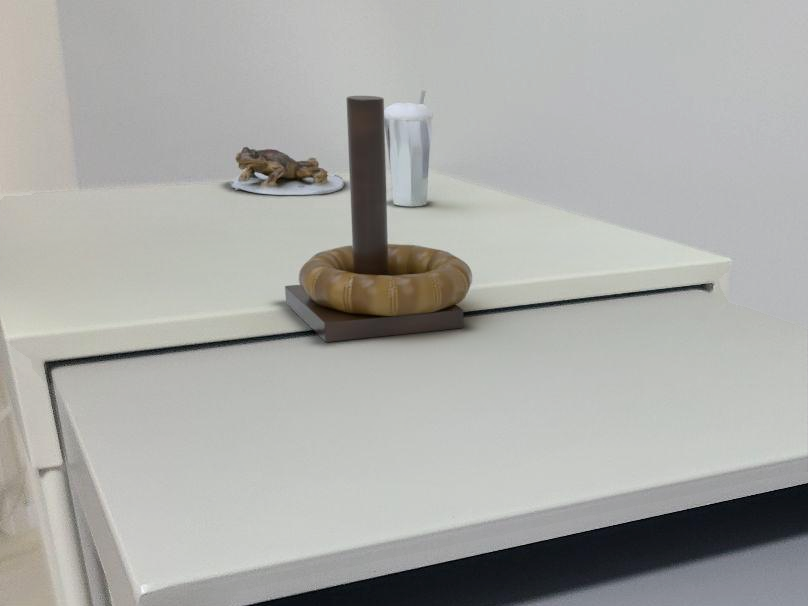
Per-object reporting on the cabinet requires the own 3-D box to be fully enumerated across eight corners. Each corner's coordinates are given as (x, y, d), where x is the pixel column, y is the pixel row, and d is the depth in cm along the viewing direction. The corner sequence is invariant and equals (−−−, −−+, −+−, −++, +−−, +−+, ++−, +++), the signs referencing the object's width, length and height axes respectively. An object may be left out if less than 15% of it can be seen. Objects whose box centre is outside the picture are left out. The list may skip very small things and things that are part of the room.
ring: (330, 327, 63) (328, 287, 62) (283, 282, 71) (280, 246, 70) (497, 311, 67) (498, 273, 66) (434, 270, 76) (433, 236, 75)
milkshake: (446, 201, 105) (445, 91, 100) (418, 210, 101) (416, 95, 96) (406, 196, 107) (404, 87, 102) (376, 204, 102) (373, 91, 98)
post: (325, 342, 64) (312, 107, 58) (285, 303, 71) (270, 89, 65) (463, 327, 68) (464, 105, 62) (412, 292, 75) (409, 89, 69)
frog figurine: (267, 200, 102) (264, 158, 100) (207, 180, 110) (203, 141, 108) (367, 189, 109) (366, 150, 107) (304, 172, 117) (302, 134, 115)
